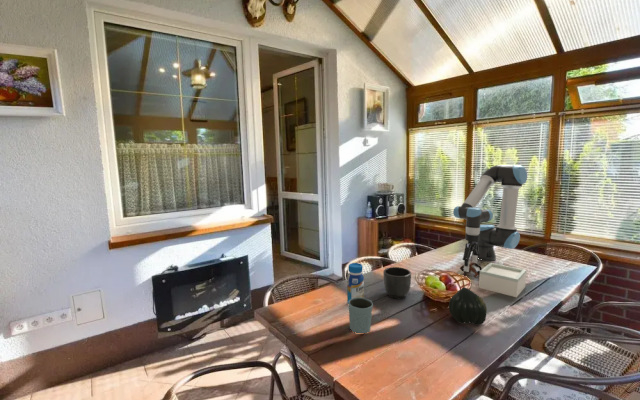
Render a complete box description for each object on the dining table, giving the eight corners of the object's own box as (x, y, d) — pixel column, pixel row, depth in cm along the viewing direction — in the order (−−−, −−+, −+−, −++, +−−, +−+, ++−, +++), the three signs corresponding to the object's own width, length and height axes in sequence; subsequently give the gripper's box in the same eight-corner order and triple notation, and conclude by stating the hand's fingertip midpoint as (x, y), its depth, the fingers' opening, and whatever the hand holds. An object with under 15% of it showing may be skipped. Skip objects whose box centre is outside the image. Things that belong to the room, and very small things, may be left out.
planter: (383, 288, 175) (383, 266, 173) (409, 290, 172) (410, 267, 170) (383, 300, 162) (383, 275, 160) (411, 302, 159) (412, 277, 157)
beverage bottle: (352, 298, 164) (352, 261, 161) (367, 302, 159) (367, 264, 157) (343, 304, 157) (343, 265, 155) (359, 309, 153) (358, 269, 150)
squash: (485, 323, 128) (486, 287, 135) (445, 316, 135) (448, 282, 142) (486, 332, 138) (487, 298, 145) (449, 325, 145) (452, 293, 153)
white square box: (489, 278, 187) (490, 262, 186) (525, 286, 175) (526, 269, 173) (478, 287, 174) (479, 270, 173) (516, 297, 162) (517, 279, 161)
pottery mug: (473, 271, 199) (480, 262, 195) (479, 283, 191) (486, 274, 187) (455, 267, 198) (462, 258, 194) (460, 279, 191) (467, 270, 186)
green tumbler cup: (348, 323, 140) (347, 297, 139) (371, 323, 140) (371, 297, 138) (349, 336, 130) (349, 308, 129) (374, 336, 130) (374, 308, 128)
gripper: (473, 229, 201) (471, 262, 203) (457, 236, 183) (455, 272, 186) (486, 231, 195) (484, 264, 198) (471, 238, 178) (469, 275, 180)
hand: (470, 268), depth 192 cm, fingers open, 13 cm apart
